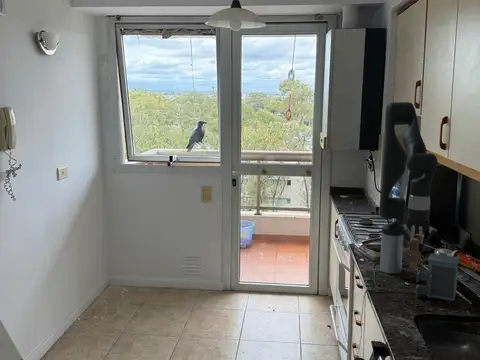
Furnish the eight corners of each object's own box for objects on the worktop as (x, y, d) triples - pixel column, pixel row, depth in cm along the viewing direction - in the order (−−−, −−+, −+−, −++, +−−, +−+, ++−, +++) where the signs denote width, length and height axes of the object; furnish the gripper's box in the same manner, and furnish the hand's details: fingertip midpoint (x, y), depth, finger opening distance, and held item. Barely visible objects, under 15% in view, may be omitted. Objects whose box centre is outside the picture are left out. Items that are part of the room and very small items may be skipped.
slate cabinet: (419, 287, 199) (421, 252, 197) (456, 293, 193) (459, 257, 190) (415, 297, 189) (417, 260, 186) (454, 304, 183) (457, 266, 180)
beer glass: (451, 285, 202) (454, 250, 199) (448, 290, 196) (450, 254, 194) (434, 281, 206) (436, 247, 203) (430, 286, 200) (432, 251, 197)
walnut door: (415, 259, 189) (417, 232, 187) (424, 261, 187) (426, 233, 185) (409, 268, 178) (411, 239, 177) (419, 270, 177) (421, 240, 175)
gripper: (440, 207, 180) (437, 252, 182) (401, 203, 186) (399, 247, 189) (437, 211, 173) (434, 258, 176) (397, 207, 180) (395, 252, 182)
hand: (416, 252), depth 182 cm, fingers closed on walnut door, 2 cm apart
